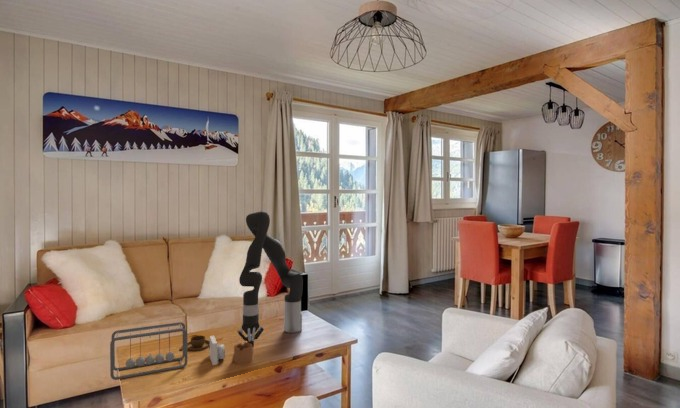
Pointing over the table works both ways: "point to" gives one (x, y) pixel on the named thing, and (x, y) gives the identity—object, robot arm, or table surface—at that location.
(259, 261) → the robot arm
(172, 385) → the table surface
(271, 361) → the table surface
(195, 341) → the place setting
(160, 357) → the newton's cradle
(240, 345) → the bracket
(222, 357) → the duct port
